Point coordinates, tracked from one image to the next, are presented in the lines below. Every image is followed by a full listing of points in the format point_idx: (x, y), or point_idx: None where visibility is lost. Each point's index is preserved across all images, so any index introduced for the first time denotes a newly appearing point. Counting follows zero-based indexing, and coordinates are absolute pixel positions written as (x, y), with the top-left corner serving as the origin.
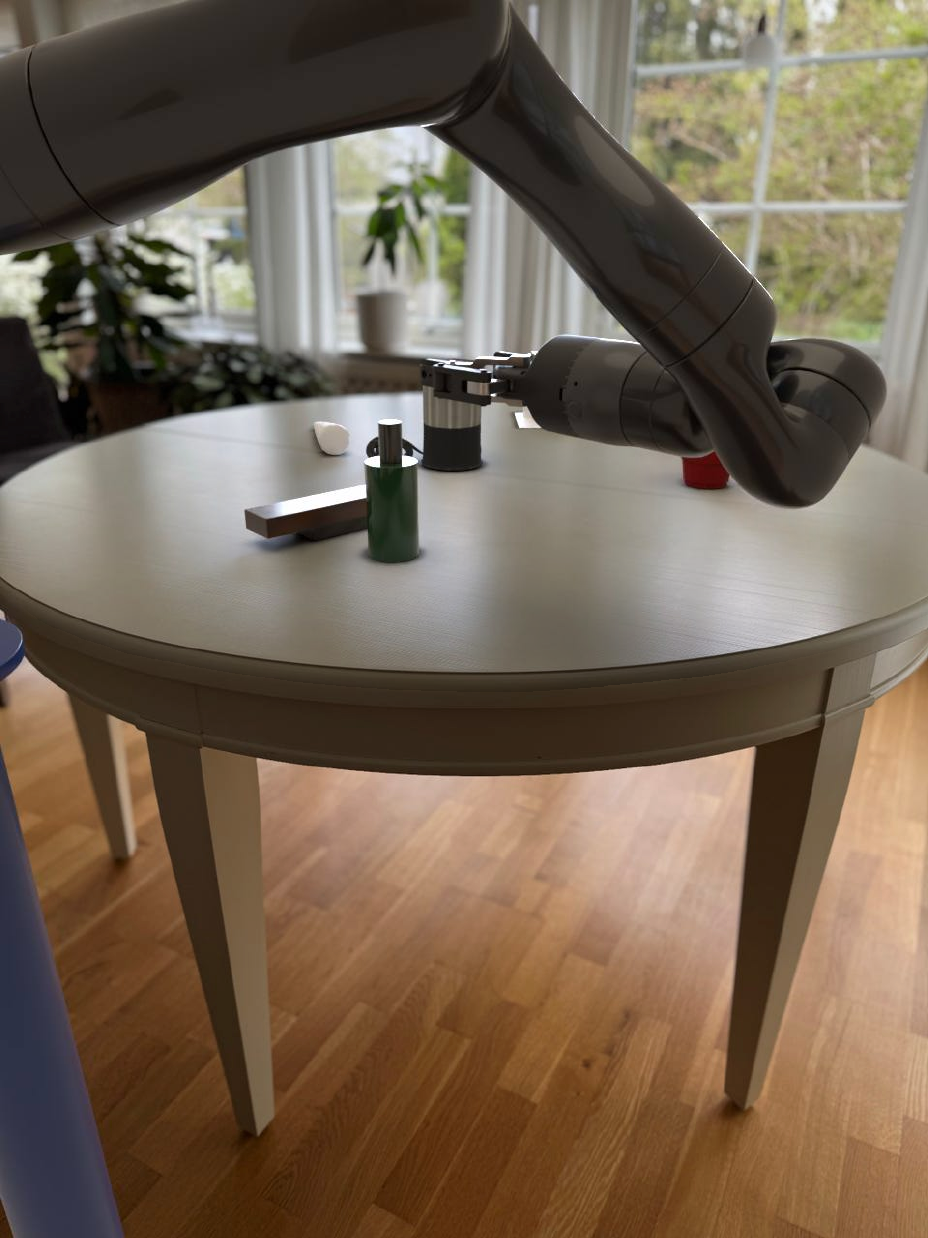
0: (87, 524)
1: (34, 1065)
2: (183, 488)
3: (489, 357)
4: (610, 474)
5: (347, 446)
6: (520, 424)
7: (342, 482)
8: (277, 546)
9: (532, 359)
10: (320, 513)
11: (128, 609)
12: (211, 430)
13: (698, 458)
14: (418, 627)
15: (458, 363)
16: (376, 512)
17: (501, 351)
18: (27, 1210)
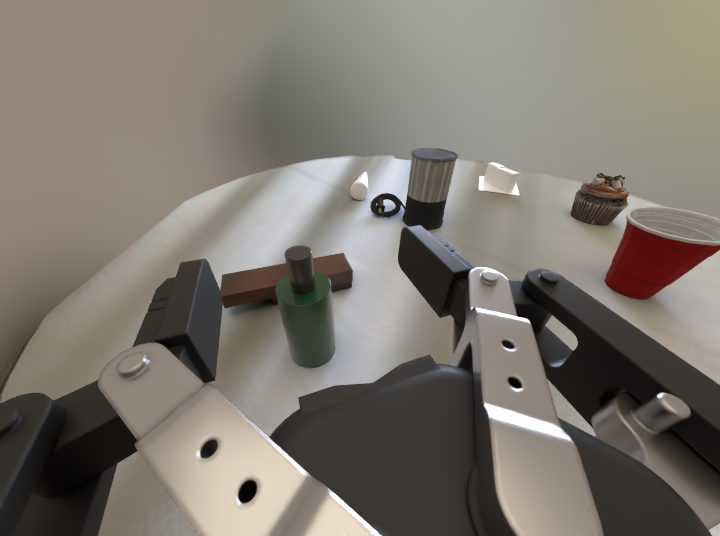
0: (173, 245)
1: None
2: (256, 217)
3: (219, 436)
4: (536, 254)
5: (365, 196)
6: (480, 186)
7: (344, 228)
8: (243, 306)
9: (472, 345)
10: (273, 289)
11: (46, 391)
12: (315, 170)
13: (635, 274)
14: None
15: (130, 391)
16: (285, 329)
17: (420, 226)
18: None
